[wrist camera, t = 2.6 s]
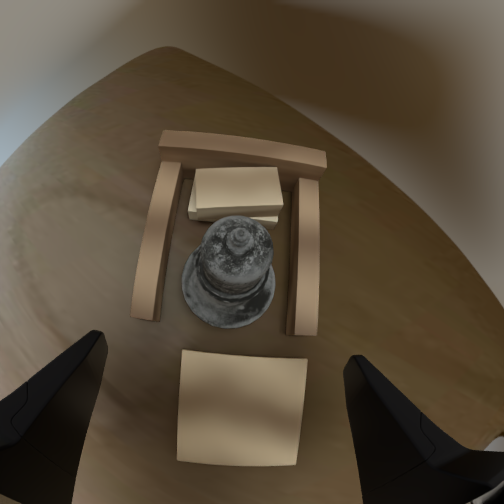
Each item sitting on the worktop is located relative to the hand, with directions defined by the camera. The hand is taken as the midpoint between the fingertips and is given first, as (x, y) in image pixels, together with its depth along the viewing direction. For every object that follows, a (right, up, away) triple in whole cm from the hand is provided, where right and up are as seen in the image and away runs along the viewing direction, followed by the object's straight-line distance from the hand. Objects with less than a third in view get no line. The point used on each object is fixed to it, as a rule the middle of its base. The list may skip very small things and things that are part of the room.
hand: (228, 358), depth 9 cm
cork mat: (0, -8, +9) cm, 12 cm away
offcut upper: (0, +8, +12) cm, 14 cm away
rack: (-1, +4, +13) cm, 13 cm away
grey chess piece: (-1, +1, +12) cm, 12 cm away
